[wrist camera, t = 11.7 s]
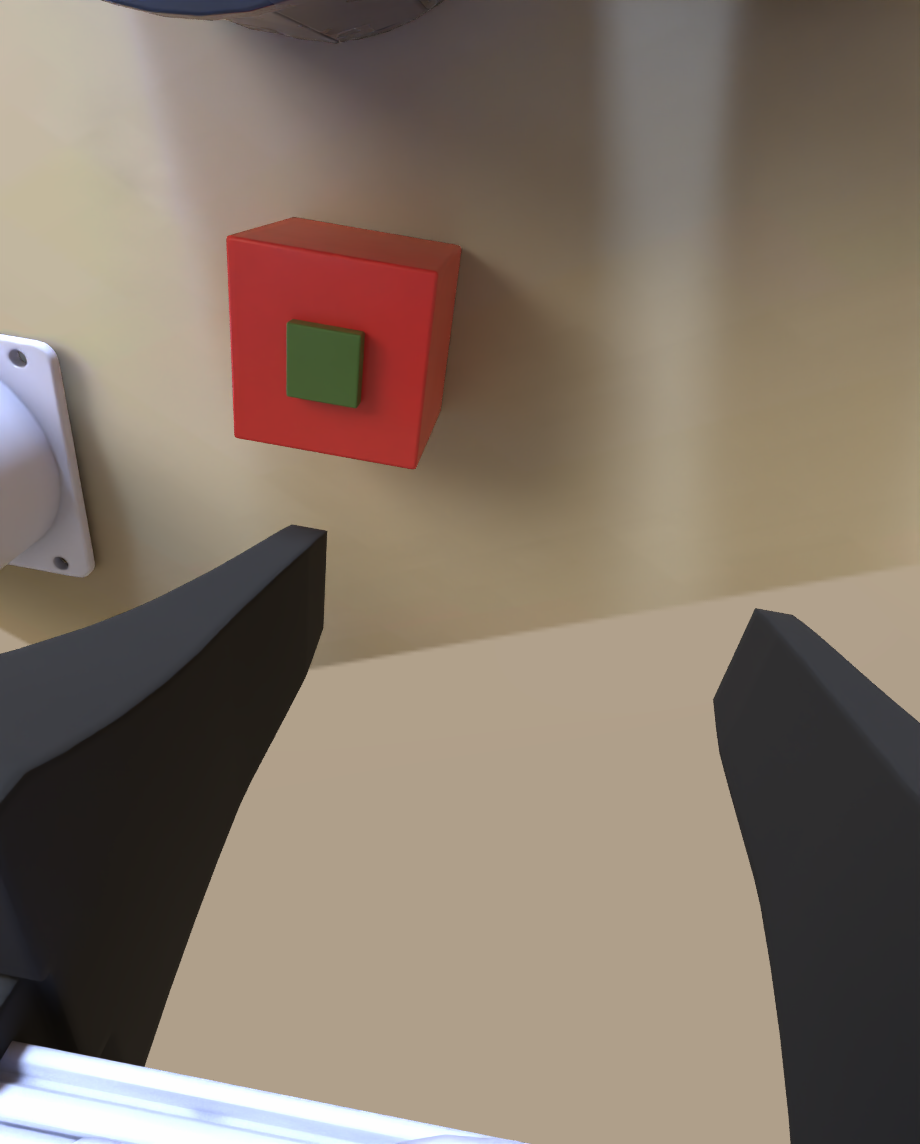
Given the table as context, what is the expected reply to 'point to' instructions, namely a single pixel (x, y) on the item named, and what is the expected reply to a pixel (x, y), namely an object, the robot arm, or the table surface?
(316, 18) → the pot
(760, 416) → the table surface
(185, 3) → the pot lid
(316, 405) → the block
